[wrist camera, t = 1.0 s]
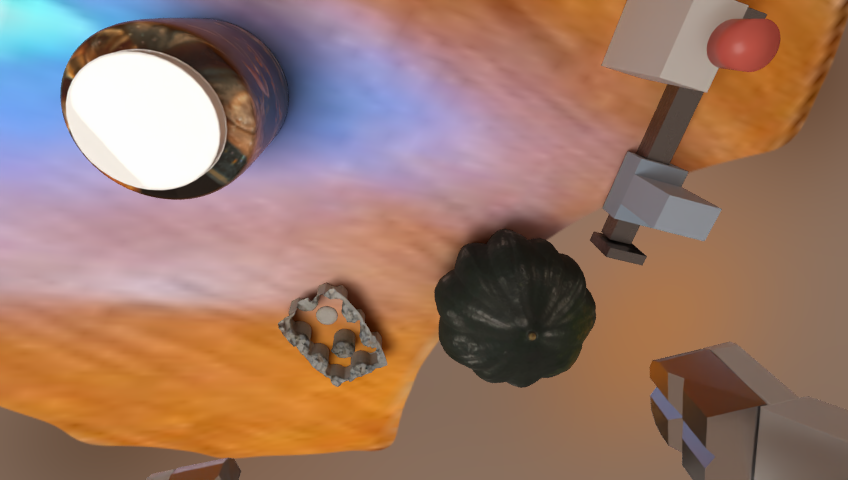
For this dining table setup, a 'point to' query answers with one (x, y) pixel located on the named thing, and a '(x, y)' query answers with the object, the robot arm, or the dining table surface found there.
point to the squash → (514, 309)
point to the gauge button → (743, 44)
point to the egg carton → (343, 338)
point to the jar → (173, 104)
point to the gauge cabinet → (669, 40)
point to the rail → (659, 148)
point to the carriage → (659, 199)
